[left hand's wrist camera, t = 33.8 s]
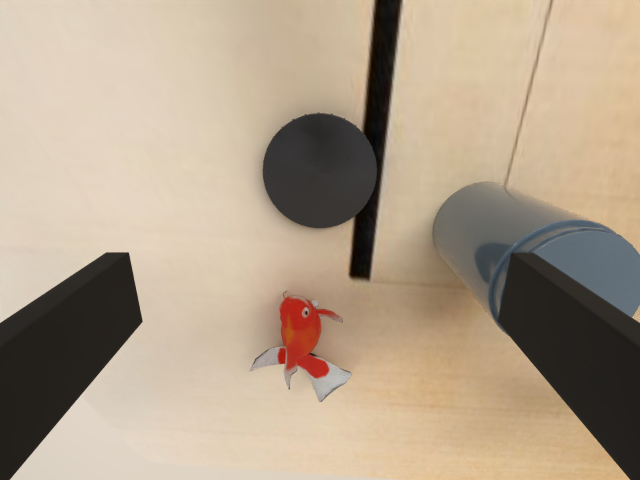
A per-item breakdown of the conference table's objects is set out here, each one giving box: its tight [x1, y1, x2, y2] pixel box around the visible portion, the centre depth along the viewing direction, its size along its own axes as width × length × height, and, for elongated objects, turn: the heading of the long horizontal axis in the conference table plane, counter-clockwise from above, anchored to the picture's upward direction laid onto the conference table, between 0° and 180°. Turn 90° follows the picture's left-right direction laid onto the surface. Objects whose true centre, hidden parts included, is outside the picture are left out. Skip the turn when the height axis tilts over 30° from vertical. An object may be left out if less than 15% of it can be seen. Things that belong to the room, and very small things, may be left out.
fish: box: [249, 291, 352, 402], centre depth 40 cm, size 11×16×10 cm
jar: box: [433, 182, 640, 336], centre depth 32 cm, size 10×10×15 cm
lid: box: [263, 113, 377, 228], centre depth 36 cm, size 11×11×2 cm
